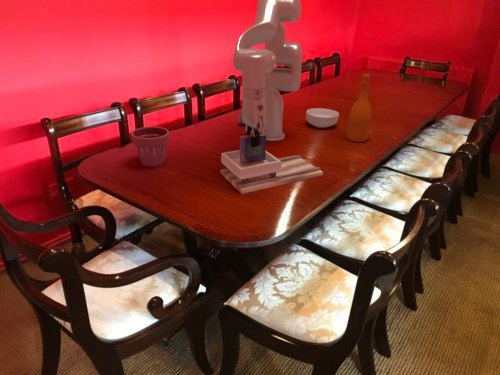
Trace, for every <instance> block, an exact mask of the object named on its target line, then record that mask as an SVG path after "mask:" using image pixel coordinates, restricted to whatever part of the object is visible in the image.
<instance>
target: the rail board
mask: <svg viewBox="0 0 500 375" xmlns="http://www.w3.org/2000/svg"><path fill="white" fill-rule="evenodd" d="M278 159H279V160H280V161H282V163H281V171H279V172H276V176H275V177H273V178H272V177H271V176H269V174H265V175H260V176H255V177H250V178H249V181H248V183H246V184H245V183H243V182H242V181H241V180H240V179H239V178H238V177H237V176H236V175H235V174H234V173H232V172H231V171H230V170H229V169H228V168H225V169H224V168H223V169H220V175H222V177H224V178H225V179H226V180H227V181H228V182H229V183H230V184H231V185H232V186H233V188H235V189H236V190H237V191H238V192H239V193H240V194H241V195H244V194H248V193H251V192H256V191H261V190H265V189H269V188H275V187H278V186H282V185H287V184H291V183H296V182H299V181H305V180H308V179H313V178H318V177H322V176H324V171H322V170H321V167H319V166H314V165H313V164H311V163H310V162H308V161H306V160H305V159H303V158H302V155H300V154H297V155H296V154H295V155H291V156H286V157H281V158H278Z"/></svg>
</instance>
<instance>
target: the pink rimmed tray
mask: <svg viewBox="0 0 500 375" xmlns="http://www.w3.org/2000/svg"><path fill="white" fill-rule="evenodd" d="M220 154H221V155H220V156H221V159H220V160H221V164H222V165H224V166H225V169H229V170H230V171H231V172H232V173H234V174H235V175H236V176H237V177H238V178H239V179H240V180H241V181H242V182H243V183H245V184H246V183H248V181H249V178H250V177H255V176H260V175H265V174H269V176H271V177H272V178H273V177H275V176H276V172H279V171H281V163H282V161H280V160H279V159H280V158H278V157H276V156H274V155H273V154H271V153H270V152H268V151H267V150H266V155H265V160H264V161H255V162H252V163H245V164H244V163H242V164H241V163H240V149H239V150H231V151H225V152H221V153H220Z"/></svg>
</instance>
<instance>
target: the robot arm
mask: <svg viewBox="0 0 500 375" xmlns="http://www.w3.org/2000/svg"><path fill="white" fill-rule="evenodd" d="M256 9H257V10H256V13H255V19H254V23H253V25H251V26H250V27H249V28H247V29H246V30H245V31H243V33H242V34H240V36H239V38H237V41H236V44H235V48H234V51H233V57H232V63H233V64H232V65H233V67H234V69H235V70H236V71H238V72H241V73H242V75H241V77H242V79H241V80H242V82H241V85H242V86H241V88H242V91H241V97H242V102H241V103H242V106H241V111H242V120H243V122H244V124H245V125H244V126H245V128H244V129H245V136H246V135H251V134H250V133H251V131H252V136H251V147H257V146H260V136H261V133H264V134H266V142H267V141H268V142H277V141H282V140H284V139H285V136H286V134H285V133H284V132H283V117H284V116H283V112H284V98H283V96H282V94H281V93H280V91H281V92H283V91H284V92H296V91H298V90H299V89H300V87H301V83H302V82H301V80H302V65H303V49H302V45H301V44H300V43H298V42H294V41H293V42H291V41H290V42H288V41H286V27H285V25H284V24H283V23H297V22H299V20H300V19H301V15H302V3H301V1H300V0H258V1H257V3H256ZM263 43H264V49H260V48H259V49H258V48H252V47H255V46H257V45H261V44H263ZM276 66H284V67H289V68H282V67H276ZM257 125H258V126H257ZM256 126H257V127H256ZM250 130H251V131H250Z"/></svg>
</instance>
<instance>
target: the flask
mask: <svg viewBox="0 0 500 375" xmlns="http://www.w3.org/2000/svg"><path fill="white" fill-rule="evenodd" d="M250 131H251V130H250ZM250 134H251V135H246V134H245V135H242V136H240V137H239V150H240V163H241V164H242V163H244V164H245V163H252V162H255V161H264V160H265V155H266V151H267V141H266V134H264V133H261V136H260V146H257V147H251V136H252V131H251V133H250Z"/></svg>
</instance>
